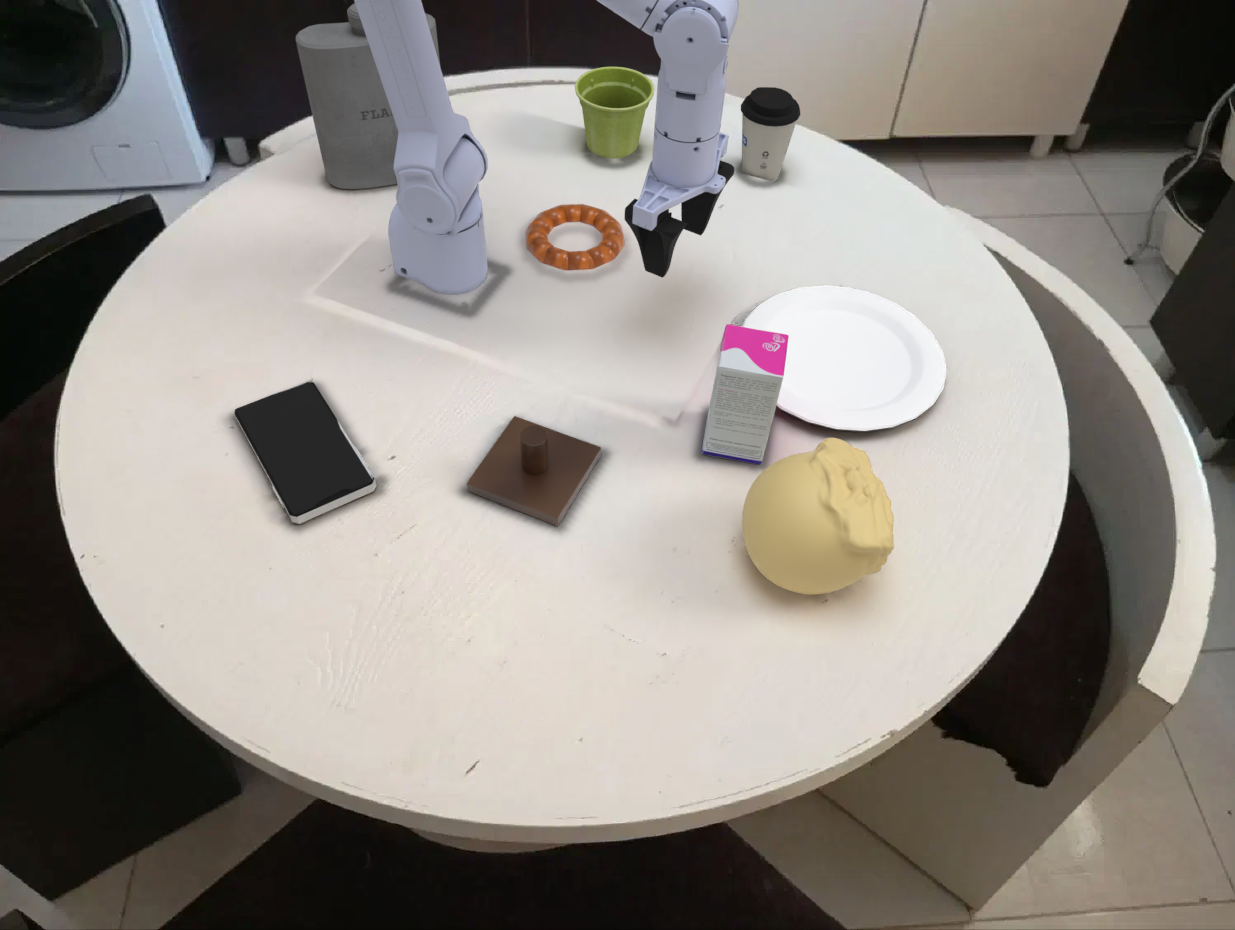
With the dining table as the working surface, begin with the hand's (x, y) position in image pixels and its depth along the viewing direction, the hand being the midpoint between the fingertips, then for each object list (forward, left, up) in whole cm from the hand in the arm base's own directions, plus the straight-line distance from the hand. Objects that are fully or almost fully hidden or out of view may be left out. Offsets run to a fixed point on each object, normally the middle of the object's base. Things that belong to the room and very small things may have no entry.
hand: (674, 250), depth 96 cm
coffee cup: (0, +30, -9) cm, 31 cm away
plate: (+18, +2, -9) cm, 20 cm away
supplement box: (+12, -12, -9) cm, 19 cm away
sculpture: (+22, -22, -9) cm, 33 cm away
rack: (-3, -24, -9) cm, 26 cm away
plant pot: (-18, +26, -9) cm, 33 cm away
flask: (-40, +10, -9) cm, 42 cm away
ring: (-14, +7, -8) cm, 18 cm away
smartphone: (-23, -31, -9) cm, 40 cm away
